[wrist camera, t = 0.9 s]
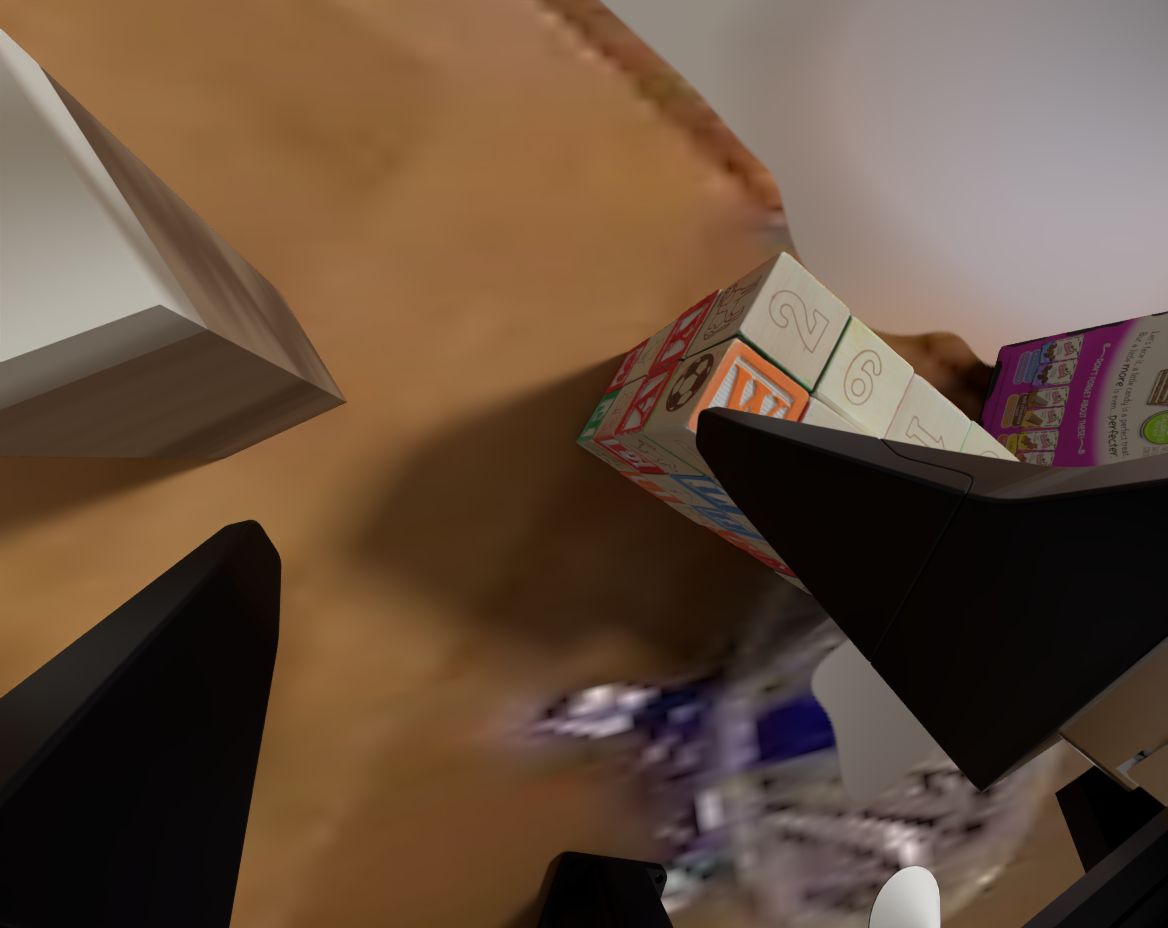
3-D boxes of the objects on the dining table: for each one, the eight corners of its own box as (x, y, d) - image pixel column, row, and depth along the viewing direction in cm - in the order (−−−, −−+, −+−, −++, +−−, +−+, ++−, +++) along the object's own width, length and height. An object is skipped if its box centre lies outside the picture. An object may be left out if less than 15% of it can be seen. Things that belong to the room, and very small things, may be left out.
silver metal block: (346, 401, 20) (159, 304, 7) (223, 458, 19) (-253, 454, 6) (280, 292, 19) (-53, -21, 7) (146, 343, 18) (-581, 69, 5)
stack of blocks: (873, 530, 29) (1154, 577, 17) (836, 613, 28) (1104, 721, 17) (626, 348, 24) (788, 240, 12) (570, 443, 23) (687, 424, 11)
